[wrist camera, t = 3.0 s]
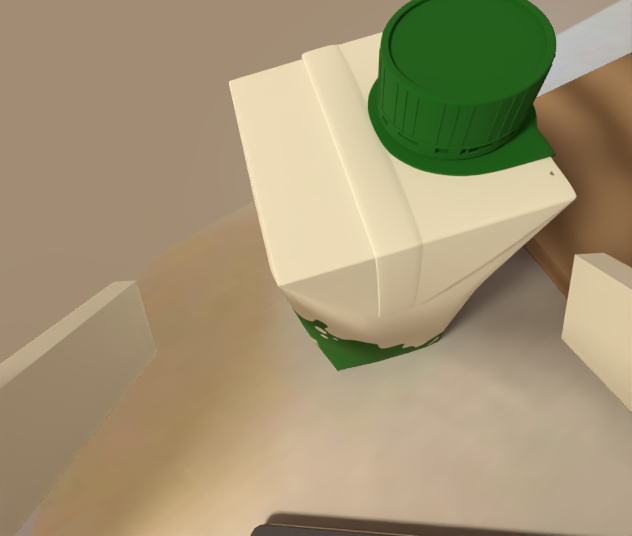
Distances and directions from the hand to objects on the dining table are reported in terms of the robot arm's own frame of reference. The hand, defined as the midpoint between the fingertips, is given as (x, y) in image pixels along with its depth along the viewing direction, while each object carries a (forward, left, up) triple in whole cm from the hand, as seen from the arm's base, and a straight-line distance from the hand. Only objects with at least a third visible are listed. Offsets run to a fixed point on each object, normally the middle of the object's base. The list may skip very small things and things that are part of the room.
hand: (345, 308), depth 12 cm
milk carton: (-3, -3, -15) cm, 16 cm away
